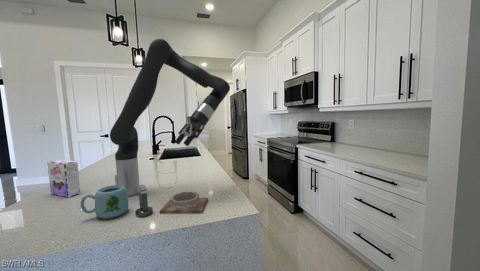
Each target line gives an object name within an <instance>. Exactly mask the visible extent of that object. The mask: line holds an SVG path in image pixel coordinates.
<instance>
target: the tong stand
mask: <svg viewBox="0 0 480 271" xmlns="http://www.w3.org/2000/svg"><path fill="white" fill-rule="evenodd" d="M208 201H209V197H200V194H199V193H197V192H196V191H181V192H178V193H175V194H173V195H172V196H171V197H170V198H169V200H168V201H167V202H166V203H165V204H164V205H163V207H161V209H160V210H159V214H164V215H165V214H169V215H170V214H202V213H203V211H204V209H205V207H206V206H207V203H208Z"/></svg>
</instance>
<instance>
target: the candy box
mask: <svg viewBox="0 0 480 271" xmlns="http://www.w3.org/2000/svg"><path fill="white" fill-rule="evenodd" d="M46 163H47V164H46V165H47V171H48V172H47V173H48V179H49V180H48V181H49V189H50V195H54V196H58V197H63V198H71V197H75V196H77V195H81V186H80V185H81V184H80V176H79V165H78V160H67V159H55V160H50V161H46Z"/></svg>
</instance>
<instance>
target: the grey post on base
mask: <svg viewBox="0 0 480 271" xmlns="http://www.w3.org/2000/svg"><path fill="white" fill-rule="evenodd" d="M138 192H139V193H138V198H139V199H138V200H139V207H138V208H137V209H136V210H135V212H134V213H135V217H136V218H139V219H140V218H147V217H149V216H151V215H153V213H154V208H153V206H149V204H148V190H147V185H145V184H139V189H138Z"/></svg>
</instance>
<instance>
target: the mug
mask: <svg viewBox="0 0 480 271" xmlns="http://www.w3.org/2000/svg"><path fill="white" fill-rule="evenodd" d="M88 198H91V199H92V200H94V208H92V209H91V210H89V209H87V208H86V206H85V201H86V199H88ZM79 203H80V204H79V205H80V208H81V211H83V213H85V214H92V213H95V216H96V217H98V218H99V219H102V220H103V219H104V220H105V219H106V220H107V219H113V218H114V219H115V218H118V217H120V216H122V215H123V214H125V213H126V212H127V210H128V209H129V203H130V202H129V196H127V192H126V189H125V187H124V186H121V185H115V184H114V185H109V186H108V185H107V186H104V187H101V188H100V189H98V190H96V192H95V195H94V194H86V195H84V196H83V197H81V199H80V202H79Z"/></svg>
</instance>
